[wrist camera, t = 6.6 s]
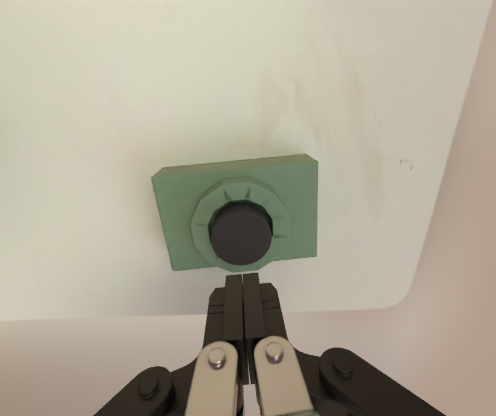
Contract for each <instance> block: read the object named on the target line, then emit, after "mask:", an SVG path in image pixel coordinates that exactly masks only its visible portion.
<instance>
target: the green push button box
mask: <svg viewBox="0 0 496 416" xmlns="http://www.w3.org/2000/svg"><path fill="white" fill-rule="evenodd" d="M151 179H152V183H153V187H154V192H155V196H156V200H157V205H158V209H159V213H160V218H161V222H162V226H163V231H164V235H165V239H166V244H167V248H168V252H169V257H170V261H171V265H172V269H173V271H179V270H189V269H199V268H208V267H219V268H222V269H225V270H228V271H231V272H242V271H252V270H258V269H260V268H262V267H263V266H265V265H267V264H268V263H270V262H271V261H277V260H287V259H297V258H307V257H316V256H317V200H318V161H316V160H315V159H313V158H312V157H310V156H309V155H307V154H301V155H291V156H280V157H270V158H259V159H249V160H239V161H228V162H218V163H207V164H197V165H186V166H176V167H165V168H162V169H161V170H160V171H159V172H157V173H156V174H155V175H154V176H153V177H152V178H151ZM241 202H242V203H249V204H252V205H254V206H256V207H258V208H259V209H260V210H261V211H262V212H263V213H264V214H265V216H266V218H267V220H268V224H269V227H270V230H271V235H272V241H271V245H270V248H269V250H268V252H267V253H266V254H265V256H264V257H262V258H261V259H260V260H259V261H257V262H255V263H252V264H249V265H241V266H240V265H233V264H229V263H227V262H225V261H223V260H222V259H221V258H219V257H218V256H217V254H216V253H215V252H214V250H213V247H212V244H211V233H212V228H213V223H214V219H215V217H216V215H217V214H218V213H219V212H220V211H221V210H222V209H223V208H224V207H226V206H228V205H230V204H233V203H241Z"/></svg>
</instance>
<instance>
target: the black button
mask: <svg viewBox="0 0 496 416" xmlns="http://www.w3.org/2000/svg"><path fill="white" fill-rule="evenodd" d="M271 241H272V235H271V230H270V227H269V224H268V220H267V218H266V216H265V214H264V213H263V212H262V211H261V210H260V209H259V208H258V207H256V206H254V205H252V204H249V203H242V202H241V203H233V204H230V205H228V206H226V207H224V208H223V209H222V210H221V211H220V212H219V213H218V214H217V215H216V217H215V219H214V223H213V228H212V233H211V244H212V247H213V250H214V252H215V253H216V254H217V256H218V257H219V258H221V259H222V260H223V261H225V262H227V263H229V264H233V265H240V266H241V265H249V264H252V263H255V262H257V261H259V260H260V259H261V258H262V257H264V256H265V254H266V253H267V252H268V250H269V248H270V245H271Z"/></svg>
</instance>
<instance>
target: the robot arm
mask: <svg viewBox="0 0 496 416" xmlns="http://www.w3.org/2000/svg"><path fill="white" fill-rule="evenodd" d="M208 306H209V307H208V313H207V314H208V315H207V320H206V328H205V335H204V343H203V347H202V350H201V352H200V353H199V355H198V356H197V358H196V359H195V360H194V361H192V362H191V363H190V364H188V365H186V366H184V367H182V368H180V369H178V370H175V371H173V372H169V371H168V370H167V369H166V368H164V367H159V366H156V367H151V368H148V369H146V370H144V371H142V372H141V373H139V374H138V375H137V376H136V377H135V378H134V379H133V380H132V381H130V382H129V383H128V384H127V385H126V386H125V387H124V388H123V389H122V390H121V391H120V392H119V393H118V394H116V395H115V396H114V397H113V398H112V399H111V400H110V401H109V402H108V403H107V404H106V405H105V406H104V407H103V408H101V409H100V410H99V411H98V412H97V413H96V414H95V415H94V416H245V405H244V398H243V385H247V384H249V373H248V365H249V372H250V381H251V384H255V387H256V396H257V402H258V405H259V407H260V414H261V416H446V415H444V414H443V413H441V412H440V411H438V410H437V409H435V408H434V407H432V406H431V405H429V404H428V403H427V402H425V401H424V400H422V399H421V398H419V397H418V396H416V395H415V394H413V393H412V392H410V391H409V390H407V389H406V388H404V387H403V386H401V385H400V384H399V383H397V382H396V381H394V380H392V379H391V378H390V377H388V376H387V375H385V374H384V373H382V372H381V371H379V370H378V369H377V368H375V367H374V366H372V365H371V364H369V363H368V362H366V361H365V360H363V359H362V358H360V357H359V356H357V355H356V354H354V353H353V352H351V351H349V350H347V349H343V348H331V349H328V350H326V351H325V352H324V353H323V354H322V355H321V357H318V356H313V355H308V354H304V353H302V352H300V351H298V350H297V349H295V348H294V347H293V346H292V344H291V343H290V342H289V340H288V338H287V334H286V329H285V325H284V320H283V316H282V311H281V308H280V302H279V298H278V293H277V290H276V289H275V287H274V286H273V285H272V284H271V283H263V284H259V276H258V273H250V274H243V282H242V274H239V275H229V276H226V283H225V287H222V288H215V289H214V291H213V292H212V294H211V295H210V298H209V305H208Z"/></svg>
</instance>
